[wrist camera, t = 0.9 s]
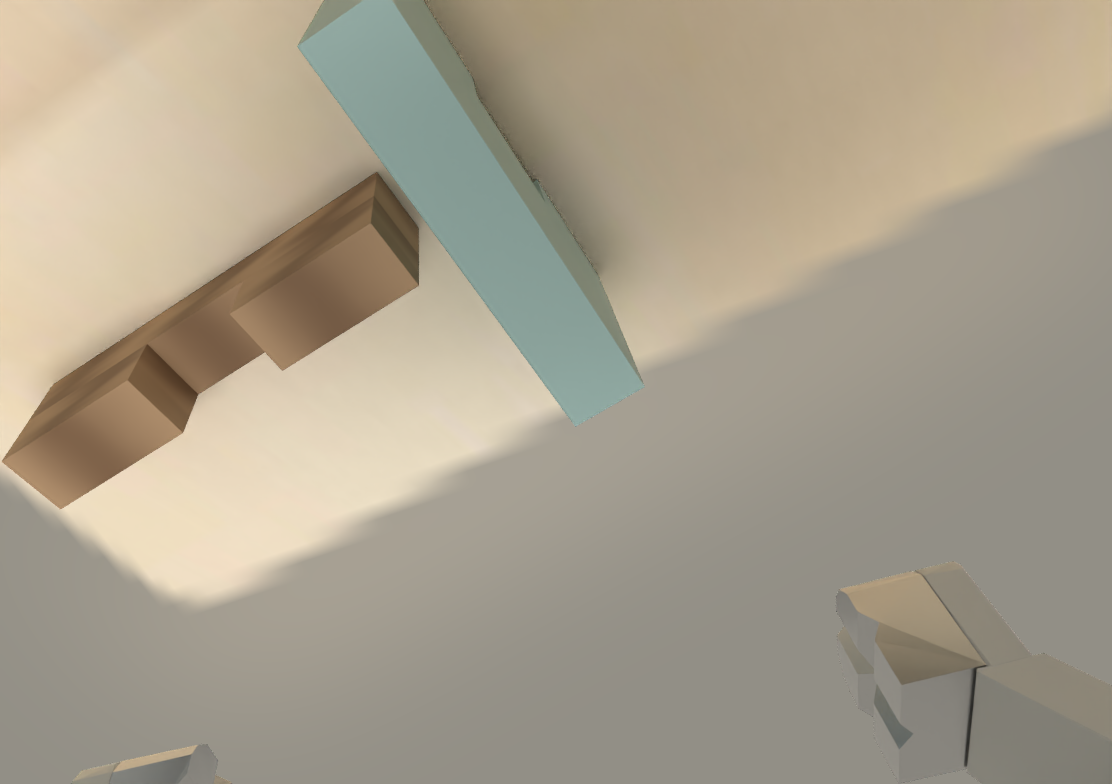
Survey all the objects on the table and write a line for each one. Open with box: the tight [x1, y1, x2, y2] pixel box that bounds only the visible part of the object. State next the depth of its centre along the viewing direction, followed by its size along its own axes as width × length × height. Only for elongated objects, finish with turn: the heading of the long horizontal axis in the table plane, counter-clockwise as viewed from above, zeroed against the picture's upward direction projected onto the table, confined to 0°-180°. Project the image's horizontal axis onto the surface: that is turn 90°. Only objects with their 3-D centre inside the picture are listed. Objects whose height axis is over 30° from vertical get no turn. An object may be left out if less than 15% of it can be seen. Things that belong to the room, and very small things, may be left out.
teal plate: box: [297, 0, 645, 427], centre depth 34 cm, size 3×16×10 cm, turn 31°
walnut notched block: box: [2, 172, 419, 509], centre depth 38 cm, size 18×3×6 cm, turn 121°
